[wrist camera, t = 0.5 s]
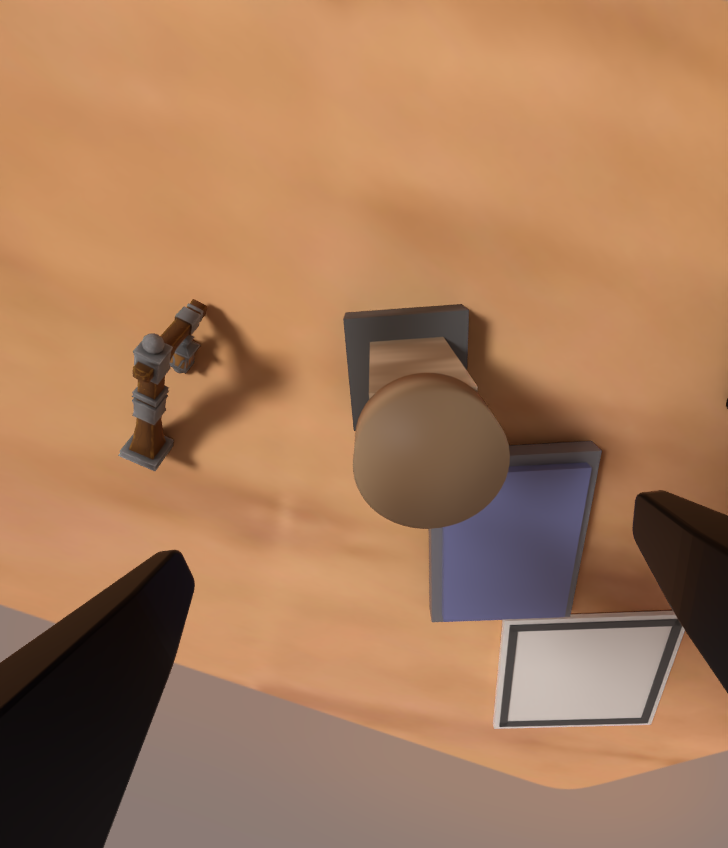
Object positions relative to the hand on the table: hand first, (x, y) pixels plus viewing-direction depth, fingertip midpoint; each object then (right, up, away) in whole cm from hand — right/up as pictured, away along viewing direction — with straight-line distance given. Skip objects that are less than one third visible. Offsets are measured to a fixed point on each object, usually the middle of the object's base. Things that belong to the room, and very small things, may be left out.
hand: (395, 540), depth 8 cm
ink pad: (+7, -4, +15) cm, 17 cm away
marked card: (+14, -14, +19) cm, 28 cm away
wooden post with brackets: (-10, +4, +11) cm, 16 cm away
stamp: (+1, +5, +11) cm, 12 cm away
